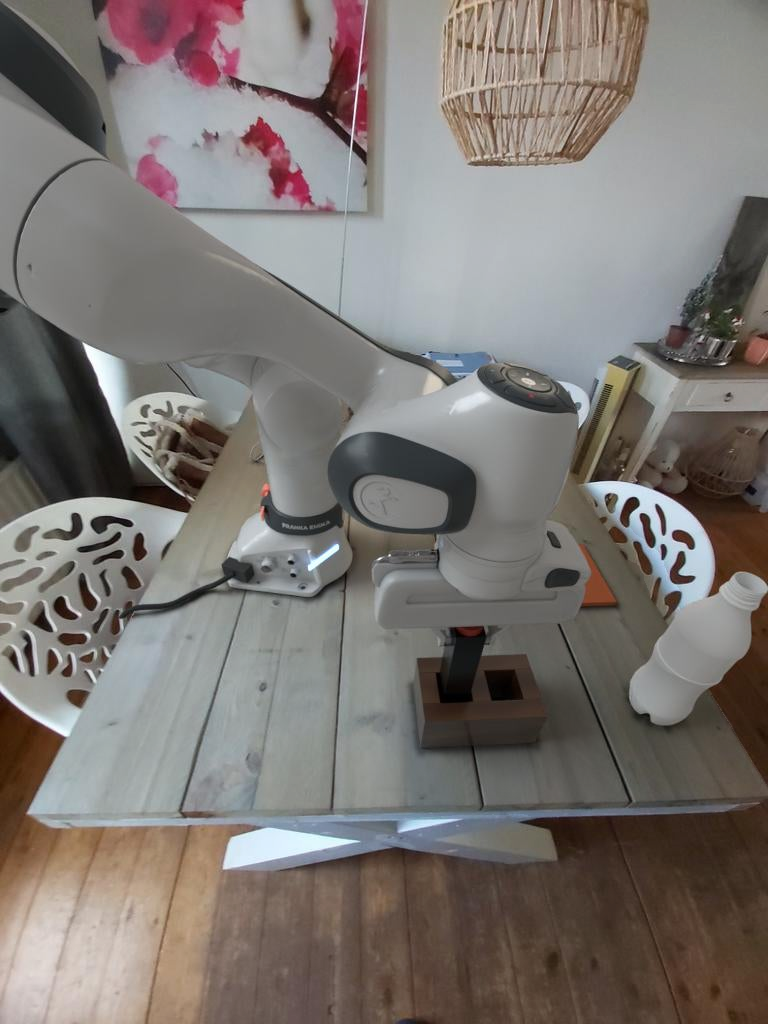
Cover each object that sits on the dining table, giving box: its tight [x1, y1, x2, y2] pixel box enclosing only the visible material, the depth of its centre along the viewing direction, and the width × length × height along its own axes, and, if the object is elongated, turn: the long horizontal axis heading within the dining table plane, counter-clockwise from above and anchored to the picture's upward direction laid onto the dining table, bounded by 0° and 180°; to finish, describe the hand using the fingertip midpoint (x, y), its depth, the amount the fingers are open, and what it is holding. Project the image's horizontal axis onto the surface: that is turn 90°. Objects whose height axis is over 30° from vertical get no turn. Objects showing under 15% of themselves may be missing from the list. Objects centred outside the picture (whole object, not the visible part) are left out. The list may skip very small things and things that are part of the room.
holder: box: [412, 653, 549, 749], centre depth 57 cm, size 8×15×7 cm, turn 93°
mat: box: [577, 543, 618, 608], centre depth 78 cm, size 14×14×1 cm
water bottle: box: [628, 571, 768, 726], centre depth 52 cm, size 7×7×25 cm
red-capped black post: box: [439, 626, 487, 702], centre depth 50 cm, size 3×3×14 cm
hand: (464, 640), depth 48 cm, fingers closed on red-capped black post, 3 cm apart
